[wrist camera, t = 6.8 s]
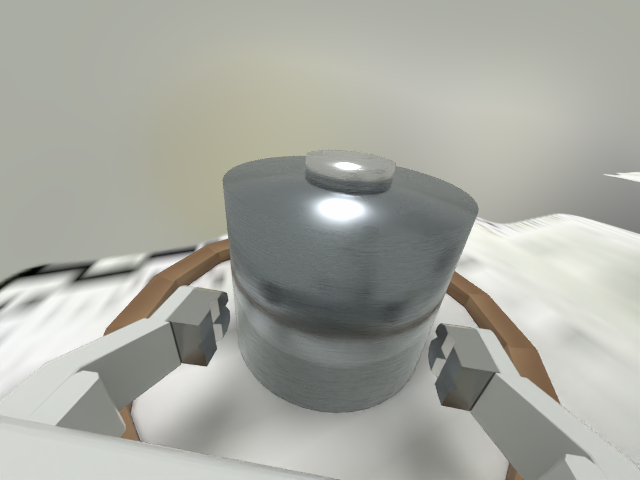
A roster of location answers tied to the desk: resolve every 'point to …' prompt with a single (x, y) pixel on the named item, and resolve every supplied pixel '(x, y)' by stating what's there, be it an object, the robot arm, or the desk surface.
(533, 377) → the locating ring
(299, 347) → the metal cover
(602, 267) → the desk surface
